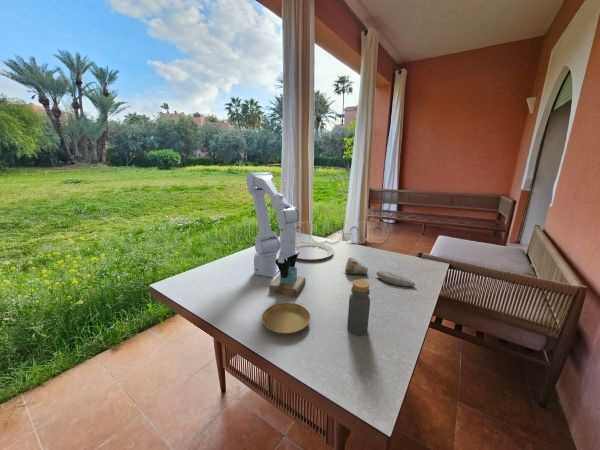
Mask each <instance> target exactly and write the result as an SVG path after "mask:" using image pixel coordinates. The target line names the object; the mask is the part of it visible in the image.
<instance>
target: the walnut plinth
mask: <svg viewBox="0 0 600 450" xmlns="http://www.w3.org/2000/svg"><path fill="white" fill-rule="evenodd" d="M306 280H307V279H306V277H305V276H300V275H297V280H296V281H295V282H294V284H293V285H289V284H283V283H280V274H279V275H278V276H276V277H275V279H274V280H273V281H272V282H271V283H270V284H269V286H268V292H269V293H270V294H276V295H280V296H287V297H293V298H298V296H299V295H300V293H301V291H302V290H303V288H304V287H305V285H306Z"/></svg>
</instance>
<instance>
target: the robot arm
mask: <svg viewBox="0 0 600 450" xmlns="http://www.w3.org/2000/svg"><path fill="white" fill-rule="evenodd" d="M273 176H274V175H273V174H272V172H270V171H265V172H263V171H262V172H261V171H259V172H256V171H255V172H254V171H253V172H252V171H249V172H248V173H247V174H246V187H247V191H248V194H250V195H251V196H252V201H253V205H254V210H255V215H256V219H257V225H258V229H259V230H258V231H259V233H258V234H257V235H256V236H255V238H254V249H255V252H256V253H255V254H254V257H253V275H258V276H263V277H269V278H274V277H275V276H276V275H277V273H278V272H279V275H280V274H281V277H282V278H287V276H288V270H289V266H290V267H295V266H296V262H297V259H298V258H297V257H298V256H299V255H300V251H299V250H297V249H296V246H297V245H296V244H297V243H296V241H297V239H296V237H297V236H296V232H297V231H296V230H297V229H296V226H297V224H296V223H297V222H299V219H300V214H299V210H298V208H297V207H296V206H293V205H291V204H290V203H289V202H288V199H287V198H286V197H285V196H284V194H283V193H279V192H278V189H277V188H276V186H275V185H274V177H273ZM266 194H267V195H268V197H269V198H270V200H269V203H270V205H271V206H272V208H273V209H274V211H275V213H276V220H277V223H278V228H279V236H280V237H279V236H278V234H277V233H276V232H275V231H273V230H272V227H271V222H270V218H269V212H268V208H267V203H266V199H265V195H266ZM279 238H280V239H279ZM278 253H279V255H278V257H277V254H278Z"/></svg>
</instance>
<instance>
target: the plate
mask: <svg viewBox="0 0 600 450" xmlns="http://www.w3.org/2000/svg"><path fill="white" fill-rule="evenodd" d="M296 245H297V246H296V250H298V249H300V248H315V247H318V248H317V249H320V248H322V249H321V250H323V249H325V250H326V251H327V252H328V253H327V252H326V251H325V250H324V251H325V252H326V253H327V255H326V256H323V257H319V258H302V257H297V259H299V260H304V261H319V260H324V259H325V258H329V257H331V256H332V255H334V248H332V246H329V245H327V244H324V243H320V242H298V243H296Z"/></svg>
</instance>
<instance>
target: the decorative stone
mask: <svg viewBox="0 0 600 450" xmlns="http://www.w3.org/2000/svg"><path fill="white" fill-rule="evenodd" d="M376 276H377V277H378V278H379V279H380V280H382V281H383V282H386V283H388V284H392V285H395V286H401V287H403V286H404V287H409V288H410V287H411V288H413V287H415V285H416V284H415V282H414V281H412V280H411V279H410V278H408V277H405V276H404V275H402V274H398V273H395V272H391V271H387V270H379V271H376Z"/></svg>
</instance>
